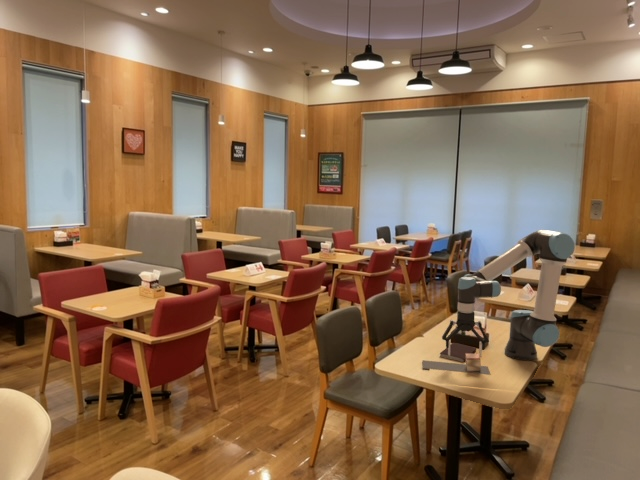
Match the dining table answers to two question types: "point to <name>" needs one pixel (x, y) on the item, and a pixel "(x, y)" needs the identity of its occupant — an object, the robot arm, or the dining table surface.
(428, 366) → the mat
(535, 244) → the robot arm
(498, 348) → the dining table surface
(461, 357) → the book
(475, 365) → the block
